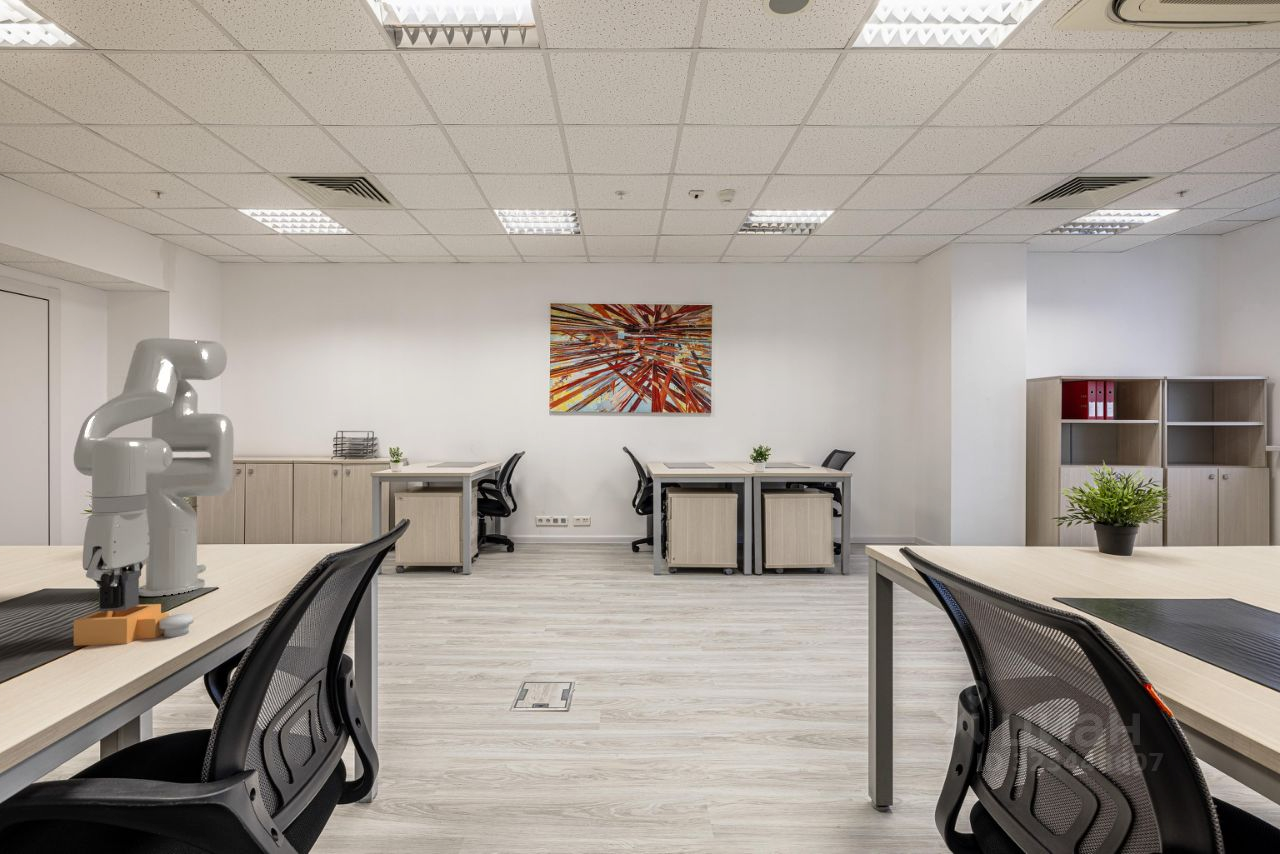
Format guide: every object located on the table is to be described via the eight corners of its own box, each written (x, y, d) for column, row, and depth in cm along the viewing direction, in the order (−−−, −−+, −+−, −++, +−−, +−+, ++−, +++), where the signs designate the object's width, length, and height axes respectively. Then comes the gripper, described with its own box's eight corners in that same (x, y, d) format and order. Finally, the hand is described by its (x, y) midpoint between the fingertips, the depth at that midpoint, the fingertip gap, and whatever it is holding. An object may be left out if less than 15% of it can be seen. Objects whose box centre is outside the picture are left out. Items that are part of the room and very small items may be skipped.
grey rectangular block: (110, 606, 108) (110, 571, 108) (140, 605, 109) (141, 570, 109) (96, 611, 105) (96, 575, 105) (127, 610, 106) (128, 574, 106)
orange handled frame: (73, 645, 102) (73, 620, 102) (112, 628, 111) (112, 605, 111) (175, 641, 104) (175, 616, 104) (205, 625, 113) (205, 602, 113)
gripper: (131, 500, 115) (130, 593, 115) (58, 511, 99) (57, 619, 98) (172, 500, 116) (171, 592, 116) (106, 510, 99) (105, 618, 99)
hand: (119, 603), depth 107 cm, fingers closed on grey rectangular block, 3 cm apart
